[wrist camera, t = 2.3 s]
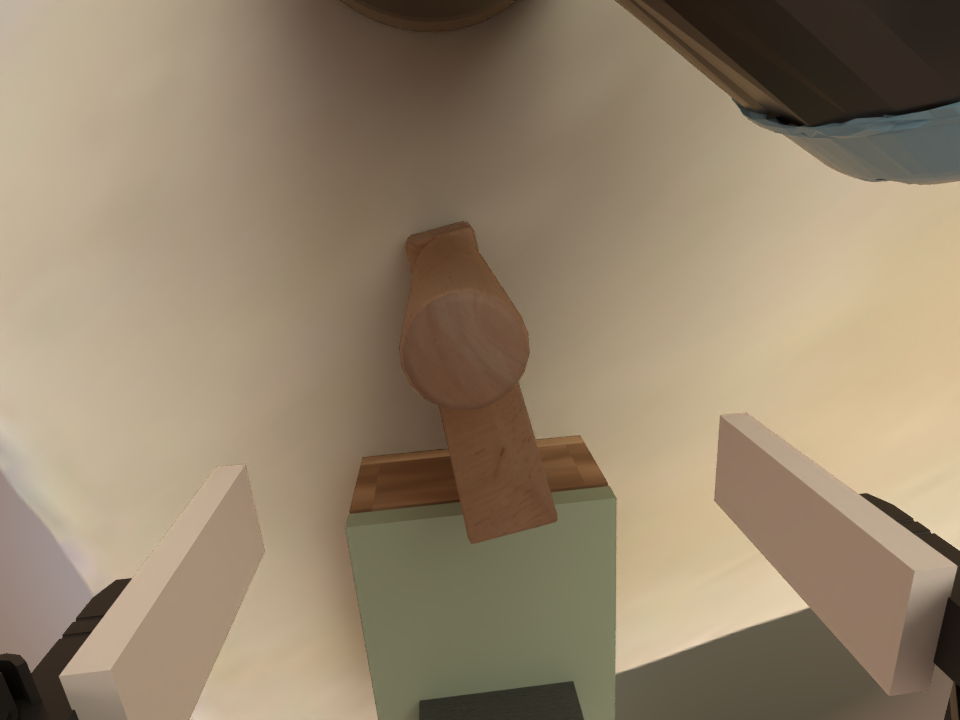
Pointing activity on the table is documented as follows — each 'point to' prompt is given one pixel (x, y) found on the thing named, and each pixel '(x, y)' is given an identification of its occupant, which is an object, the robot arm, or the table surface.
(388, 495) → the wooden box
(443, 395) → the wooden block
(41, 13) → the table surface
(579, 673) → the lid
